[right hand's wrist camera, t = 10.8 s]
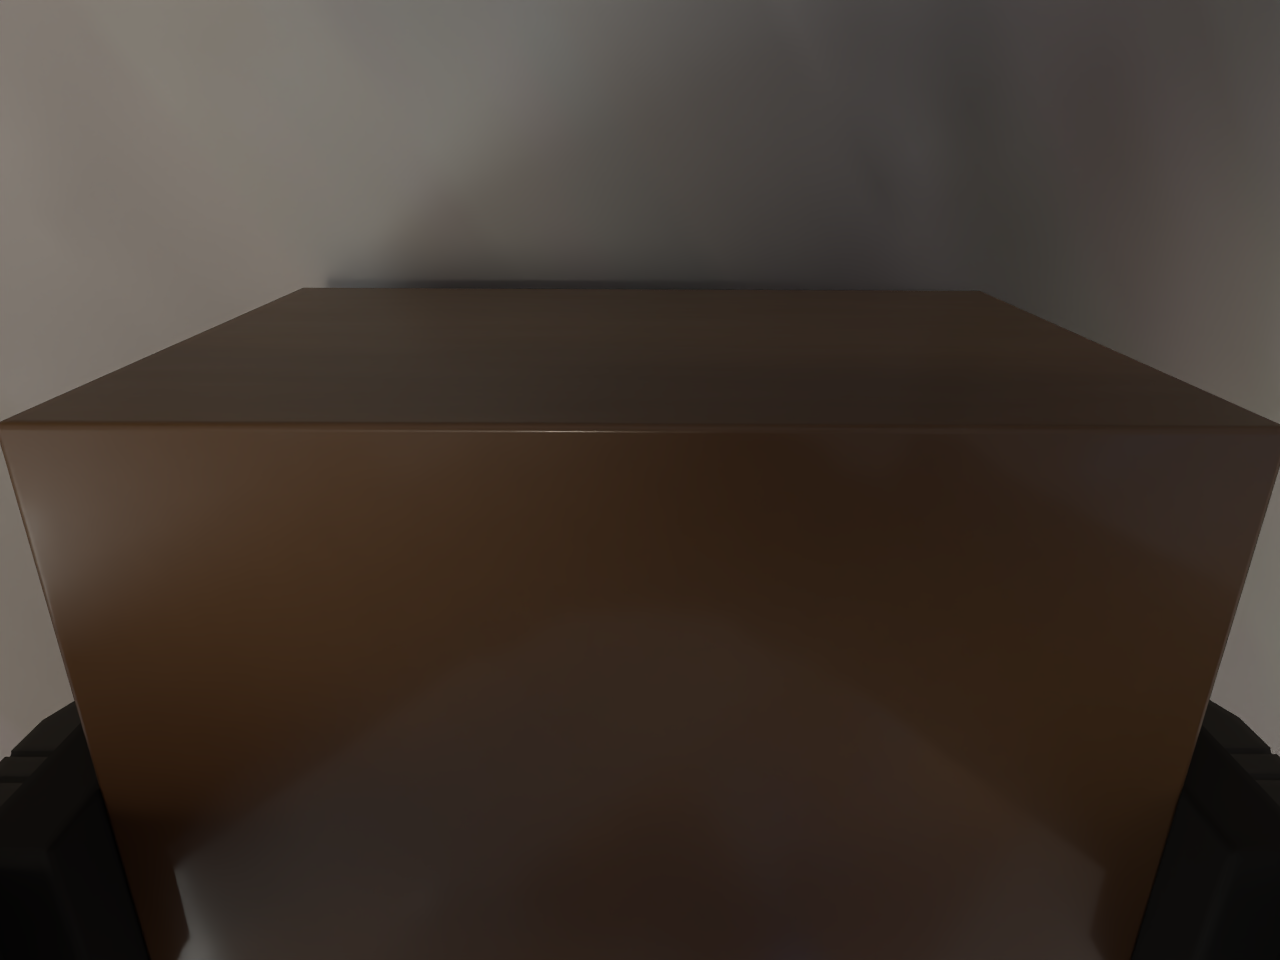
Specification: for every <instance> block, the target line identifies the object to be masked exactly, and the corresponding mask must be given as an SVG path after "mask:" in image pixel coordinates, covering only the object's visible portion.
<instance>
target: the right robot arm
mask: <svg viewBox="0 0 1280 960" xmlns="http://www.w3.org/2000/svg"><path fill="white" fill-rule="evenodd" d="M0 960H149V956H148V953H147V949H146V946H145V943H144V939H143V936H142V932H141V929H140V925H139V922H138V918H137V915H136V911H135V908H134V904H133V901H132V897H131V894H130V891H129V887H128V884H127V880H126V877H125V873H124V870H123V866H122V863H121V859H120V856H119V852H118V849H117V846H116V842H115V839H114V835H113V832H112V828H111V825H110V821H109V818H108V814H107V811H106V807H105V804H104V800H103V797H102V794H101V790H100V787H99V783H98V780H97V776H96V773H95V769H94V766H93V762H92V759H91V755H90V752H89V749H88V745H87V742H86V738H85V735H84V731H83V728H82V724H81V721H80V717H79V714H78V710H77V707H76V704H75V701H74V702H72V703H70V704H69V705H67V706H65V707H64V708H62V709H60V710H59V711H57V712H55V713H54V714H52V715H51V716H49V717H47V718H46V719H44V720H42V721H41V722H40V723H39V724H38V725H37V726H36V727H35V728H34V729H33V730H32V731H31V732H30V733H29V734H28V735H27V736H26V737H25V738H24V739H23V740H22V741H21V742H20V743H19V744H18V745H17V746H16V747H15V748H14V749H13V750H12V751H11V756H10V757H5V758H3V759H2V760H1V761H0ZM1131 960H1280V757H1279V756H1278V755H1277V754H1271V751H1270V747H1269V746H1268V745H1267V744H1266V743H1265V742H1264V741H1263V740H1262V739H1261V738H1260V737H1259V736H1257V735H1256V734H1255V733H1254V732H1253V731H1252V730H1251V729H1250V728H1249V727H1248V726H1247V725H1246V724H1245V723H1244V722H1243V721H1242V720H1241V719H1240V718H1239V717H1237V716H1236V715H1234V714H1232V713H1231V712H1229V711H1227V710H1226V709H1224V708H1222V707H1221V706H1219V705H1217V704H1216V703H1214V702H1212V701H1211V700H1209V703H1208V706H1207V709H1206V713H1205V716H1204V719H1203V723H1202V726H1201V729H1200V733H1199V736H1198V739H1197V742H1196V746H1195V749H1194V752H1193V756H1192V759H1191V762H1190V766H1189V769H1188V772H1187V776H1186V779H1185V782H1184V786H1183V789H1182V792H1181V795H1180V799H1179V802H1178V805H1177V809H1176V812H1175V815H1174V819H1173V822H1172V825H1171V829H1170V832H1169V835H1168V839H1167V842H1166V845H1165V849H1164V852H1163V855H1162V859H1161V862H1160V865H1159V869H1158V872H1157V875H1156V878H1155V882H1154V885H1153V888H1152V892H1151V895H1150V898H1149V902H1148V905H1147V908H1146V912H1145V915H1144V918H1143V922H1142V925H1141V928H1140V932H1139V935H1138V938H1137V941H1136V945H1135V948H1134V951H1133V955H1132V958H1131Z"/></svg>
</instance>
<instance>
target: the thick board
mask: <svg viewBox="0 0 1280 960" xmlns="http://www.w3.org/2000/svg"><path fill="white" fill-rule="evenodd" d="M0 444H1V447H2V451H3V454H4V458H5V461H6V464H7V468H8V471H9V475H10V478H11V482H12V485H13V489H14V492H15V496H16V499H17V503H18V506H19V510H20V513H21V516H22V520H23V523H24V527H25V530H26V534H27V537H28V541H29V544H30V548H31V551H32V555H33V558H34V561H35V565H36V568H37V572H38V575H39V579H40V582H41V586H42V589H43V593H44V596H45V600H46V603H47V607H48V610H49V613H50V617H51V620H52V624H53V627H54V631H55V634H56V638H57V641H58V645H59V648H60V652H61V655H62V658H63V662H64V665H65V669H66V672H67V676H68V679H69V683H70V686H71V690H72V693H73V697H74V700H75V704H76V707H77V710H78V714H79V717H80V721H81V724H82V728H83V731H84V735H85V738H86V742H87V745H88V749H89V752H90V755H91V759H92V762H93V766H94V769H95V773H96V776H97V780H98V783H99V787H100V790H101V794H102V797H103V800H104V804H105V807H106V811H107V814H108V818H109V821H110V825H111V828H112V832H113V835H114V839H115V842H116V846H117V849H118V852H119V856H120V859H121V863H122V866H123V870H124V873H125V877H126V880H127V884H128V887H129V891H130V894H131V897H132V901H133V904H134V908H135V911H136V915H137V918H138V922H139V925H140V929H141V932H142V936H143V939H144V943H145V946H146V949H147V953H148V956H149V960H1131V958H1132V955H1133V951H1134V948H1135V945H1136V941H1137V938H1138V935H1139V932H1140V928H1141V925H1142V922H1143V918H1144V915H1145V912H1146V908H1147V905H1148V902H1149V898H1150V895H1151V892H1152V888H1153V885H1154V882H1155V878H1156V875H1157V872H1158V869H1159V865H1160V862H1161V859H1162V855H1163V852H1164V849H1165V845H1166V842H1167V839H1168V835H1169V832H1170V829H1171V825H1172V822H1173V819H1174V815H1175V812H1176V809H1177V805H1178V802H1179V799H1180V795H1181V792H1182V789H1183V786H1184V782H1185V779H1186V776H1187V772H1188V769H1189V766H1190V762H1191V759H1192V756H1193V752H1194V749H1195V746H1196V742H1197V739H1198V736H1199V733H1200V729H1201V726H1202V723H1203V719H1204V716H1205V713H1206V709H1207V706H1208V703H1209V699H1210V696H1211V693H1212V689H1213V686H1214V683H1215V679H1216V676H1217V673H1218V670H1219V666H1220V663H1221V660H1222V656H1223V653H1224V650H1225V646H1226V643H1227V640H1228V636H1229V633H1230V630H1231V626H1232V623H1233V620H1234V616H1235V613H1236V610H1237V606H1238V603H1239V600H1240V597H1241V593H1242V590H1243V587H1244V583H1245V580H1246V577H1247V573H1248V570H1249V567H1250V563H1251V560H1252V557H1253V553H1254V550H1255V547H1256V543H1257V540H1258V537H1259V534H1260V530H1261V527H1262V524H1263V520H1264V517H1265V514H1266V510H1267V507H1268V504H1269V500H1270V497H1271V494H1272V490H1273V487H1274V484H1275V480H1276V477H1277V474H1278V470H1279V467H1280V424H1278V423H1276V422H1273V421H1271V420H1269V419H1267V418H1264V417H1262V416H1260V415H1258V414H1255V413H1253V412H1251V411H1249V410H1246V409H1244V408H1242V407H1240V406H1237V405H1235V404H1233V403H1231V402H1228V401H1226V400H1224V399H1222V398H1219V397H1217V396H1215V395H1213V394H1210V393H1208V392H1206V391H1204V390H1201V389H1199V388H1197V387H1195V386H1192V385H1190V384H1188V383H1186V382H1183V381H1181V380H1179V379H1177V378H1174V377H1172V376H1170V375H1168V374H1165V373H1163V372H1161V371H1159V370H1156V369H1154V368H1152V367H1150V366H1147V365H1145V364H1143V363H1141V362H1138V361H1136V360H1134V359H1132V358H1129V357H1127V356H1125V355H1123V354H1120V353H1118V352H1116V351H1114V350H1111V349H1109V348H1107V347H1105V346H1102V345H1100V344H1098V343H1096V342H1093V341H1091V340H1089V339H1087V338H1084V337H1082V336H1080V335H1078V334H1076V333H1073V332H1071V331H1069V330H1067V329H1064V328H1062V327H1060V326H1058V325H1055V324H1053V323H1051V322H1049V321H1046V320H1044V319H1042V318H1040V317H1037V316H1035V315H1033V314H1031V313H1028V312H1026V311H1024V310H1022V309H1019V308H1017V307H1015V306H1013V305H1010V304H1008V303H1006V302H1004V301H1001V300H999V299H997V298H995V297H992V296H990V295H988V294H986V293H983V292H981V291H898V290H673V289H447V288H302V289H300V290H297V291H295V292H293V293H290V294H288V295H286V296H284V297H281V298H279V299H277V300H275V301H272V302H270V303H268V304H266V305H263V306H261V307H259V308H257V309H254V310H252V311H250V312H247V313H245V314H243V315H241V316H238V317H236V318H234V319H232V320H229V321H227V322H225V323H223V324H220V325H218V326H216V327H214V328H211V329H209V330H207V331H204V332H202V333H200V334H198V335H195V336H193V337H191V338H189V339H186V340H184V341H182V342H180V343H177V344H175V345H173V346H171V347H168V348H166V349H164V350H161V351H159V352H157V353H155V354H152V355H150V356H148V357H146V358H143V359H141V360H139V361H137V362H134V363H132V364H130V365H128V366H125V367H123V368H121V369H118V370H116V371H114V372H112V373H109V374H107V375H105V376H103V377H100V378H98V379H96V380H94V381H91V382H89V383H87V384H85V385H82V386H80V387H78V388H75V389H73V390H71V391H69V392H66V393H64V394H62V395H60V396H57V397H55V398H53V399H51V400H48V401H46V402H44V403H42V404H39V405H37V406H35V407H32V408H30V409H28V410H26V411H23V412H21V413H19V414H17V415H14V416H12V417H10V418H8V419H5V420H3V421H1V422H0Z"/></svg>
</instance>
